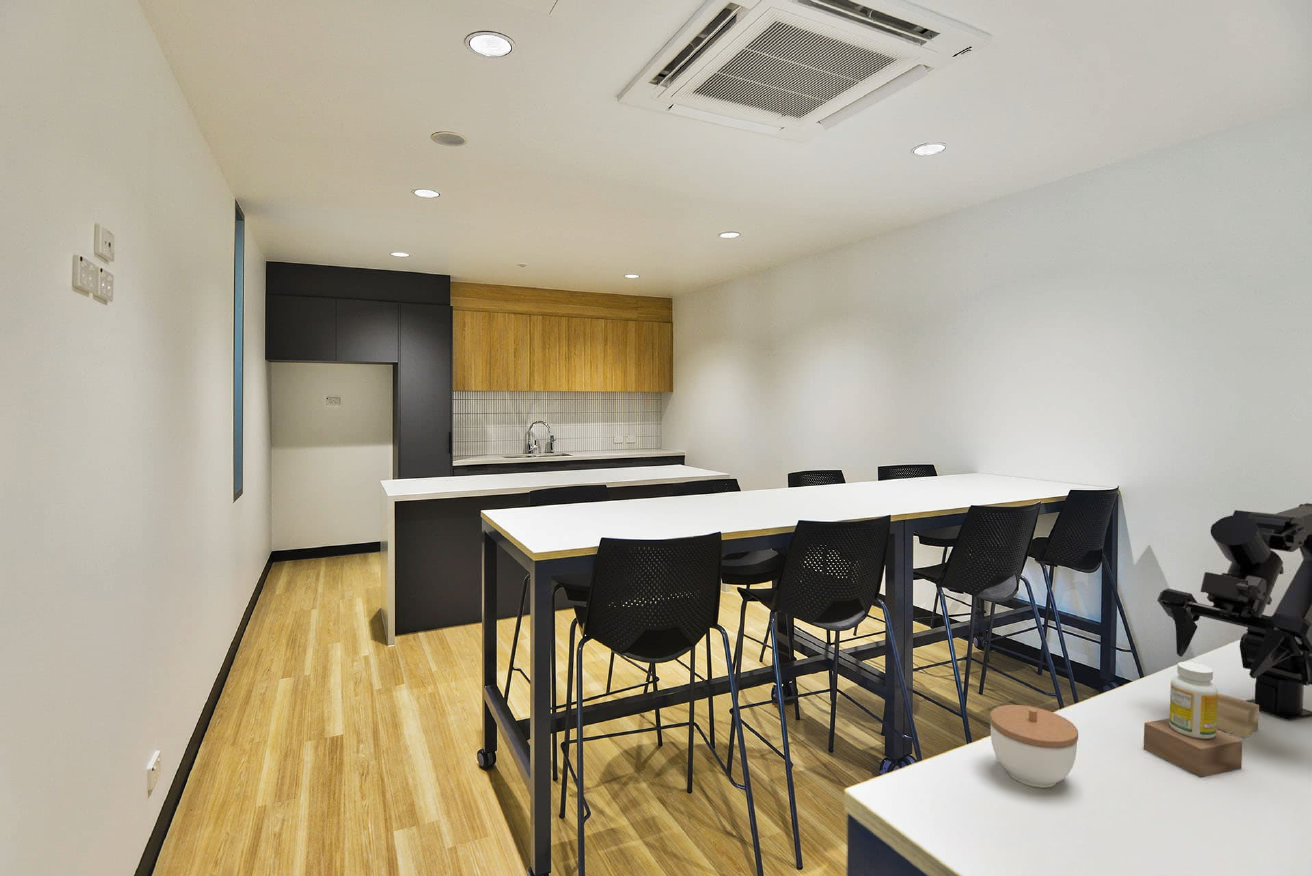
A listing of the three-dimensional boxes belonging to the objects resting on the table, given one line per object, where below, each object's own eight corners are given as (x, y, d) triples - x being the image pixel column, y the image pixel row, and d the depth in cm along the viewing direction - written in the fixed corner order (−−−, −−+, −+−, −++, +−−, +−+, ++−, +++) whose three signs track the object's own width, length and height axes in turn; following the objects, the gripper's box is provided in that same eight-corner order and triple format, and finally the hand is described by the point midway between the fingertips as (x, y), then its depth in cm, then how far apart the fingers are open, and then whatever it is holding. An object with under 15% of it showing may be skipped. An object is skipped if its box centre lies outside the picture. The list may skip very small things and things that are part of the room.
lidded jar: (1026, 802, 86) (1028, 732, 86) (972, 759, 97) (973, 696, 96) (1096, 792, 88) (1098, 724, 88) (1035, 751, 99) (1037, 690, 98)
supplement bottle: (1172, 734, 96) (1174, 669, 95) (1166, 719, 100) (1168, 657, 100) (1220, 743, 93) (1222, 676, 93) (1212, 727, 98) (1214, 664, 97)
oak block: (1219, 717, 109) (1220, 693, 109) (1258, 729, 105) (1259, 705, 105) (1206, 724, 107) (1207, 700, 107) (1245, 737, 103) (1246, 712, 102)
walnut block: (1182, 740, 102) (1183, 715, 102) (1241, 768, 94) (1242, 740, 94) (1143, 748, 100) (1144, 722, 99) (1200, 777, 92) (1201, 749, 92)
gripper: (1163, 541, 110) (1126, 620, 106) (1313, 566, 94) (1276, 661, 90) (1187, 577, 115) (1152, 654, 111) (1335, 607, 98) (1300, 699, 94)
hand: (1213, 665), depth 101 cm, fingers open, 9 cm apart
